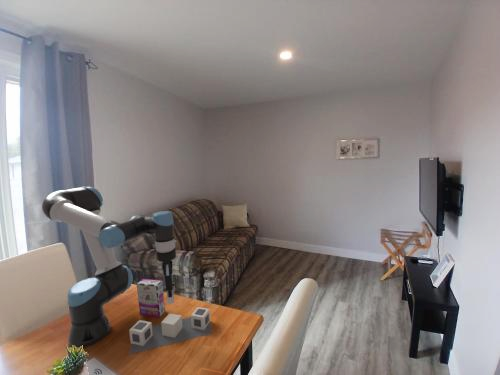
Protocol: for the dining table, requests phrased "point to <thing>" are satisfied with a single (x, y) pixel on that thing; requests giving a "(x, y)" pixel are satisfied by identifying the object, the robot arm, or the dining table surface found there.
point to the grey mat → (162, 340)
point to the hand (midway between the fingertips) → (170, 302)
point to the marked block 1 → (141, 332)
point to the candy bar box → (151, 297)
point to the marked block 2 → (200, 318)
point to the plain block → (171, 325)
